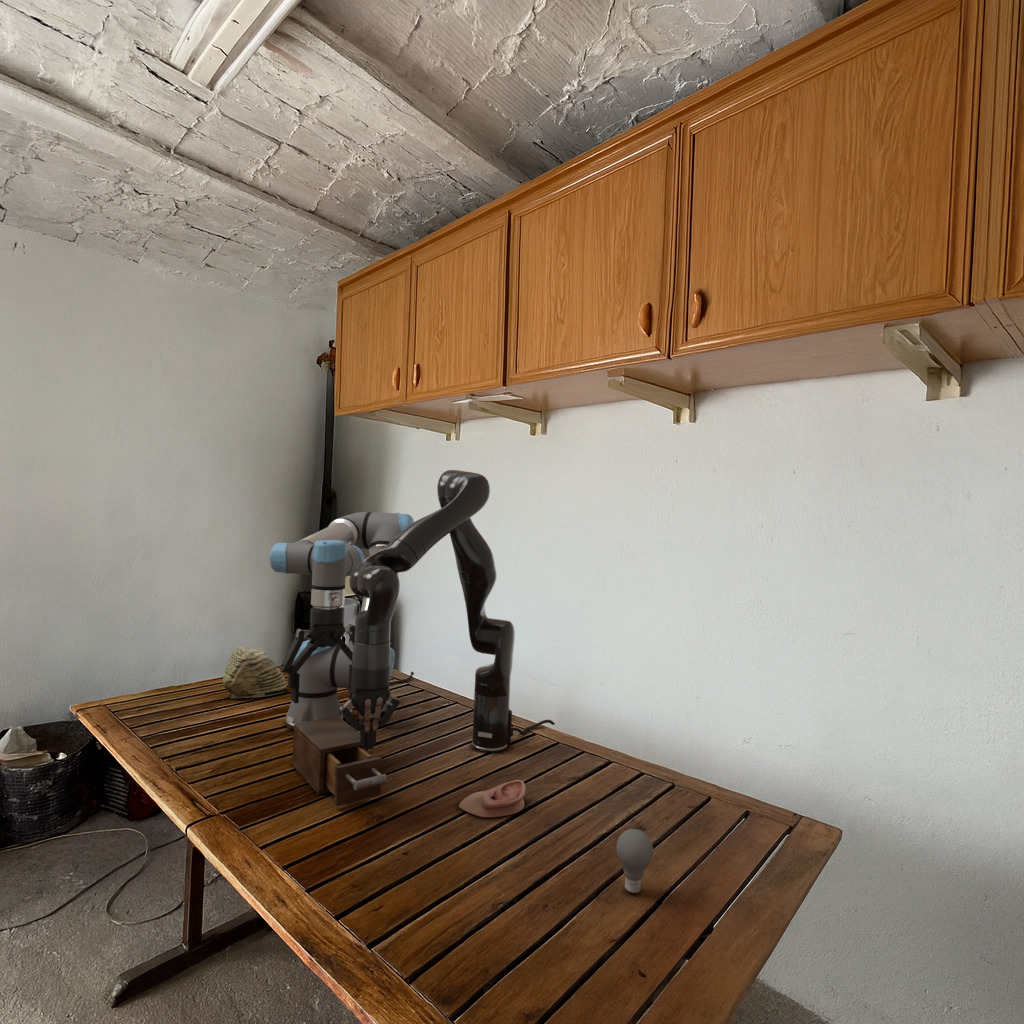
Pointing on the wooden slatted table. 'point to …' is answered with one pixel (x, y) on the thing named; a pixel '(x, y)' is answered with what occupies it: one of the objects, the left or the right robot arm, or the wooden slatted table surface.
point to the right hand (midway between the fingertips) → (367, 748)
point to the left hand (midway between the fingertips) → (324, 697)
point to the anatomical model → (496, 800)
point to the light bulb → (634, 857)
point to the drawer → (352, 775)
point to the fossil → (252, 674)
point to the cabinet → (320, 747)
